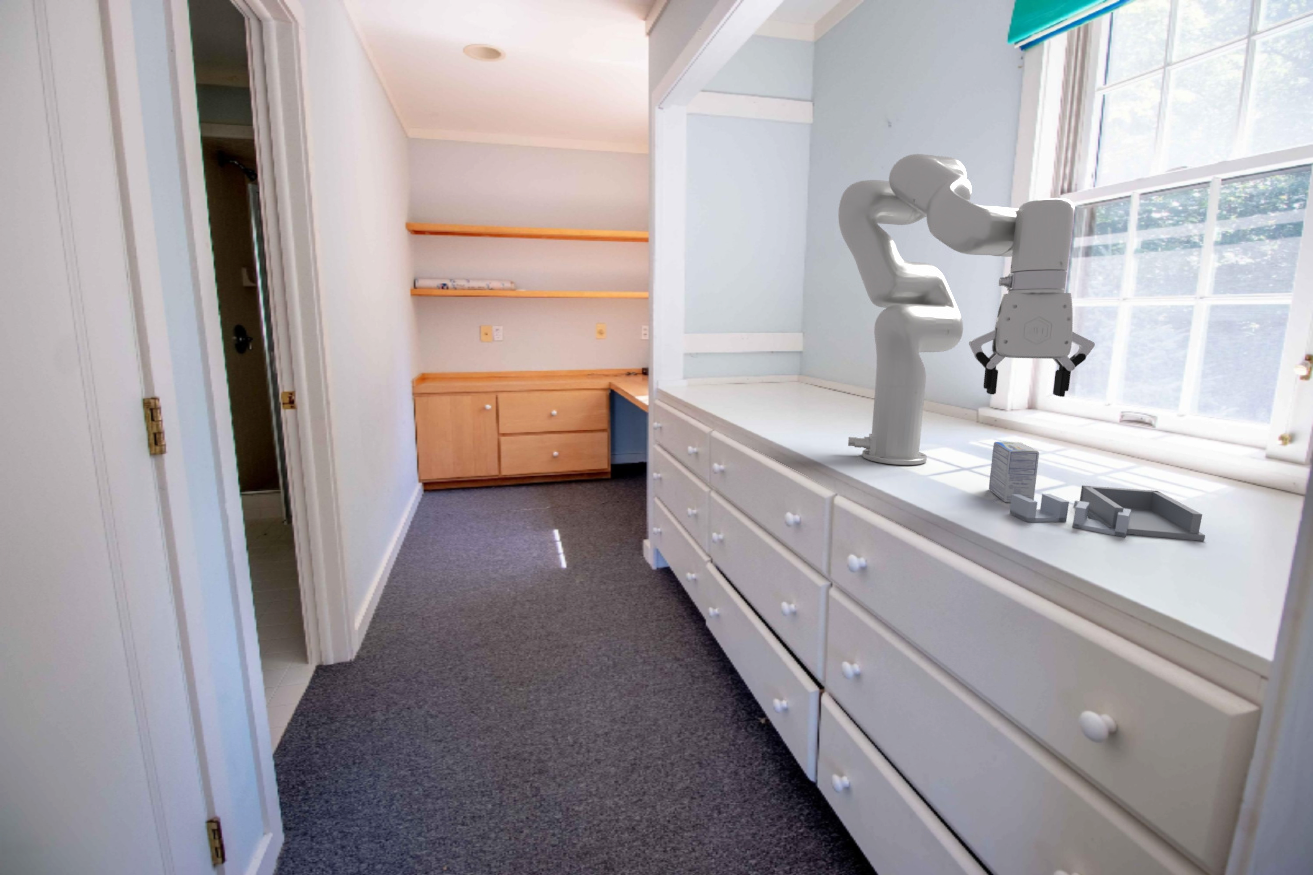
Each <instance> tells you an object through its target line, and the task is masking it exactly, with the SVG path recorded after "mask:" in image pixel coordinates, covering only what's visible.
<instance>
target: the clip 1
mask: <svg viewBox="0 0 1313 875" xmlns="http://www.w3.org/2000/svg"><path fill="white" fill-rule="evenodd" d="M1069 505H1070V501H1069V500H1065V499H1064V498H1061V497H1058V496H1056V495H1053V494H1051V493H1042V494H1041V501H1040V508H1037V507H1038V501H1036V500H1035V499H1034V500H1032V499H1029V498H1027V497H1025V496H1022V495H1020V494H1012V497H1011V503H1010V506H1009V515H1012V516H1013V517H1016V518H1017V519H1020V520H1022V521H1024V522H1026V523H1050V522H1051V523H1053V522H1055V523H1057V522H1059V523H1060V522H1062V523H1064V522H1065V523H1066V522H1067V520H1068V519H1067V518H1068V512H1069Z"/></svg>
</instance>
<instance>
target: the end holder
mask: <svg viewBox="0 0 1313 875" xmlns="http://www.w3.org/2000/svg"><path fill="white" fill-rule="evenodd" d="M1079 501H1083V502H1089V509H1088V516H1087V518H1088V519H1093V520H1098V521H1100V522H1101V523H1103V524H1104V525H1105V526H1107V527H1108V528H1110V529H1116V522H1117V516H1118V513H1119V511H1121V512H1123V509H1124V508H1125V509H1131V514H1130V520H1129V525H1128V528H1127V534H1126V535H1130V534H1135V535H1134V536H1142V535H1143V536H1144V537H1155V538H1156V537H1157V538H1167V539H1176V540H1177V539H1178V540H1187V541H1189V540H1190V541H1200V542H1205V539H1206V535H1205V534H1203V533H1202V532H1200V528H1201V523H1202V517H1203V514H1202V513H1201V512H1198V511H1197V510H1195V509H1192V508H1191V507H1189V506H1188V505H1185V504H1183V503H1182V502H1179V501H1177V500H1176V499H1174V498H1172V497H1170V496H1169V495H1166V494H1164V493H1162V492H1160V491H1159V490H1154V489H1153V490H1152V489H1151V490H1150V489H1137V488H1136V489H1135V488H1122V487H1110V486H1108V487H1107V486H1095V485H1084V484H1083V485H1081V491H1080V496H1079V500H1074V503H1073V507H1076V505H1077V504H1078V502H1079ZM1143 536H1142V537H1143Z"/></svg>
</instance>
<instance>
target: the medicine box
mask: <svg viewBox="0 0 1313 875" xmlns="http://www.w3.org/2000/svg"><path fill="white" fill-rule="evenodd" d="M1039 458H1040V453H1039V451H1038V450H1036V449H1034V448H1032V447H1031V446H1028V445H1027V444H1024V443H1022V442H1019V441H994V442H993V448H992V456H991V466H990V475H989V485H988V490H989V491H990V492H992V493H993V494H994V495H995V496H997V497H998V498H999V499H1000V500H1001V501H1003V503H1004V502H1005V503H1008V504H1009V503H1010V504H1011V497H1012V494H1020V495H1022V496H1025V497H1027V498H1029V499H1032V500H1034V501H1035V492H1036V491H1035V490H1036V484H1037V476H1038V467H1039Z"/></svg>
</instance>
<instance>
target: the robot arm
mask: <svg viewBox="0 0 1313 875" xmlns="http://www.w3.org/2000/svg"><path fill="white" fill-rule="evenodd" d="M888 176H889V177H888V180H881V179H880V180H879V179H867V180H860V181H859V180H858V181H856V182H854V183H852V184H850V185H849V186H848V187H846V189H844V192H843V193H842V195H841V197H840V200H839V206H838V217H837V218H838V226H839V229H840V230H839V231H840V233H841V235H842V239H843V241H844V242H845V245H846V246H847V248H848V250H849V251H850V253H851V255H852V256H853V259H854V262H855V263H856V264H855V265H856V267H857V270H858V273H859V275H860V278H861V280H862V283H863V285H864V288H865V291H866V293H867V296H868V297H869V299H870V301H871V303H872V304H873V305H874V306H876V307H878V308H884V309H883V310H882V311H881V312H880V313H879V314H878V315H877V318H876V319H875V321H874V330H873V332H874V342H875V351H876V369H875V386H874V387H875V388H874V400H873V410H872V411H873V412H872V413H873V414H872V424H871V425H872V426H871V433H868V434H869V435H868V436H864V437H863V438H861V437H854V436H853V437H852V436H849V437H848V442H847V446H848V447H854V448H863V450H862V452H861V453H862V454H861V456H862V457H863V458H864V459H866V460H868V461H872V462H875V463H880V464H886V465H897V466H900V465H901V466H915V465H922V464H925V463H926V462H927V461H928V457H927V455H926V453H923V452H921V451H920V445H921V438H922V437H921V436H922V424H923V416H924V415H923V414H924V402H925V394H926V381H927V374H926V367H925V365H924V363H923V360H922V358H921V355H920V353H942V352H948V351H949V350H952V349H953V348H955V347H956V346H957V345H958V344H959V343H960V342H961V339H962V336H963V331H964V324H963V323H964V322H963V317H962V314H961V312H960V310H959V307H958V305H957V302H956V300H955V299H954V295H953V294H952V291H951V289H950V286H949V284H948V282H947V280H946V278H945V275H944V274H943V272H941V271H940V270H939V268H937V267H936V266H935V265H933V264H931V263H926V262H916V261H915V262H914V261H907V260H905V259H903V257H902V256H901V254H900V253H899V251H898V248H897V244H896V243H895V241H894V240H893V237H891V235H890V234H889V233H888V232H887V231H885V230H884V229H883V228H882V227H881V226H880V225H879V224H882V225H897V226H905V225H911V224H914V223H916V222H919V221H920V220H922V219H925V218H926V223H927V224H926V225H927V227H928V231H929V232H930V235H932V236H933V237H934V238H936V239H937V240H938V241H939V242H941V243H942V244H944V245H945V246H947V247H948V248H950V249H952V250H953V251H954V252H955V251H956V252H957V253H961V254H965V255H973V256H993V257H1005V258H1006V257H1011V260H1010V271H1009V272H1010V273H1008V275H1007V276H1004V277H999V280H998V286H999V287H1004V288H1006V291H1008V292H1007V293H1004V294H1003V296H1002V298H1001V301H1000V304H999V307H998V311H997V312H998V313H997V316H996V317H997V318H996V319H995V320H996V321H995V326H994V330H992V331H989V332H987V333H984V334H983V335H980V336H978V337H976V338H974V339H971V340H970V341H969V342H968V346H969V347H970V349H971V352H972V353H973V356H974V358H975V359H976V361H978V362H979V363H980V364H981V366H982V367H983V369H984V375H983V376H984V377H983V378H984V379H983V389H984V390H985V389H986V394H989V395H995V394H997V386H998V376H999V370H998V369H997V366H998V365H999V364H1000V363H1001V362H1002V361H1003V360H1004V359H1006V358H1009V359H1010V358H1012V359H1045V360H1046V359H1052V360H1053V361H1054V362H1055V364H1057V366H1058V369H1056V370H1055V372H1054V383H1053V390H1052V394H1053V395H1054V396H1056V397H1057V396H1058V397H1060V398H1061V397H1062V398H1063V397H1065V395H1066V392H1068V391H1069V389H1070V384H1071V383H1070V382H1071V376H1072V375H1071V374H1072V371H1074V370H1075V369H1076V367H1078V366H1079V365H1080V364H1081V363H1083V362H1084V361H1086V359H1087V356H1088V355H1089V354H1090V353H1091V352H1092V350H1093V349H1094V347H1095V342H1094V341H1092V340H1090V339H1088V338H1086V337H1084V336H1082V335H1080V334H1078V333H1076V332H1074V331H1073V323H1074V322H1073V321H1074V317H1073V314H1074V313H1073V299H1072V293H1071V292H1066V283H1067V276H1068V265H1069V260H1070V259H1069V258H1070V250H1071V241H1072V235H1073V226H1074V217H1075V206H1074V203H1073V201H1071V200H1070V199H1067V198H1062V197H1060V198H1058V197H1054V198H1053V197H1051V198H1041V199H1033V200H1030V201H1027V202H1024V203H1023V204H1022V205H1020V206H1019V208H1016V207H1015V208H1014V207H1006V206H1005V207H1004V206H1003V207H1002V206H993V205H991V206H990V205H979V204H976V203H973V202H971V201H970V200H971V198H972V185H971V182H970V181H969V179H967V177H968V176H967V171H966V168H965V166H964V164H963V163H962V161H959V160H958V159H956V158H954V157H952V156H951V157H949V156H943V155H941V156H940V155H933V154H932V155H931V154H923V153H915V154H909V155H906V156H904V157H901V159H899V160H898V161H896V163H895V164H893V165H892V167H891V170H890V172H889V175H888ZM991 341H992V343H991V344H992V346H991V349H992V350H991V351H992V354H991V355H990V356H988V355H986V353H984V352H983V348H982V346H983V345H985V344H986V343H989V342H991ZM1073 344H1075V345H1077V346H1078V350H1077V352H1076V353H1075V354H1072V356H1071V357H1070V358H1069V355H1070V353H1071V352H1072V351H1071V350H1072V345H1073Z"/></svg>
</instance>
